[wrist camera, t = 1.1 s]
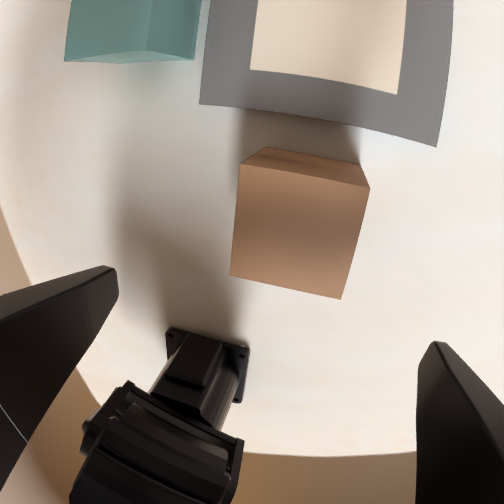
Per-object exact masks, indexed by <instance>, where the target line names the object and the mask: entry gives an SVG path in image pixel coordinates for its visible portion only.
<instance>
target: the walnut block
mask: <svg viewBox="0 0 504 504" xmlns="http://www.w3.org/2000/svg"><path fill="white" fill-rule="evenodd" d="M369 192H370V187H369V184H368V182H367V179H366V177H365V175H364V172H363V170H362V168H361V165H358V164H353V163H349V162H344V161H339V160H335V159H330V158H325V157H320V156H314V155H309V154H304V153H298V152H292V151H286V150H280V149H274V148H268V147H265V148H264V149H262V150H261V151H259V152H258V153H256V154H254V155H253V156H251V157H250V158H248V159H247V160H245V161H244V162H242V163H241V164H240V171H239V180H238V191H237V201H236V211H235V222H234V232H233V243H232V254H231V266H230V276H235V277H239V278H244V279H248V280H252V281H257V282H261V283H266V284H270V285H275V286H279V287H284V288H288V289H293V290H298V291H302V292H307V293H312V294H316V295H321V296H326V297H331V298H335V299H340V300H341V297H342V294H343V290H344V287H345V284H346V280H347V277H348V274H349V270H350V267H351V263H352V259H353V256H354V252H355V248H356V245H357V241H358V237H359V233H360V229H361V225H362V221H363V217H364V213H365V209H366V205H367V201H368V196H369Z"/></svg>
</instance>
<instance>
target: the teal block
mask: <svg viewBox="0 0 504 504" xmlns="http://www.w3.org/2000/svg"><path fill="white" fill-rule="evenodd" d="M201 1H202V0H72V4H71V10H70V16H69V23H68V30H67V38H66V46H65V57H64V62H105V63H130V62H145V61H167V60H194V55H195V46H196V38H197V30H198V22H199V15H200V8H201Z"/></svg>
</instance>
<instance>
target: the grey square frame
mask: <svg viewBox="0 0 504 504" xmlns="http://www.w3.org/2000/svg"><path fill="white" fill-rule="evenodd" d="M452 26H453V0H211V4H210V12H209V19H208V26H207V34H206V42H205V51H204V60H203V69H202V79H201V89H200V99H199V104H202V105H216V106H228V107H238V108H248V109H256V110H265V111H272V112H280V113H286V114H293V115H299V116H305V117H311V118H317V119H323V120H328V121H333V122H338V123H343V124H348V125H353V126H357V127H362V128H366V129H370V130H375V131H379V132H383V133H387V134H391V135H395V136H398V137H402V138H406V139H409V140H413V141H416V142H420V143H423V144H427V145H430V146H433V147H437V142H438V137H439V132H440V126H441V121H442V115H443V109H444V103H445V96H446V89H447V82H448V73H449V64H450V54H451V42H452Z"/></svg>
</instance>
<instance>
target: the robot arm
mask: <svg viewBox="0 0 504 504" xmlns="http://www.w3.org/2000/svg"><path fill="white" fill-rule="evenodd" d="M118 296H119V288H118V281H117V273H116V270H115V269H114V268H112V267H108V266H105V265H102V266H98V267H94V268H91V269H87V270H84V271H80V272H77V273H74V274H70V275H67V276H63V277H60V278H56V279H53V280H50V281H46V282H43V283H40V284H36V285H33V286H30V287H26V288H23V289H20V290H17V291H13V292H10V293H7V294H4V295H2V296H0V491H1V490H2V488H3V486H4V484H5V482H6V480H7V478H8V477H9V474H10V473H11V471H12V469H13V467H14V466H15V464H16V462H17V460H18V459H19V457H20V455H21V453H22V452H23V450H24V448H25V446H26V445H27V442H28V441H29V439H30V438H31V436H32V434H33V433H34V431H35V429H36V428H37V426H38V424H39V423H40V421H41V420H42V418H43V416H44V415H45V413H46V411H47V410H48V408H49V407H50V405H51V403H52V402H53V400H54V399H55V397H56V396H57V394H58V393H59V391H60V389H61V388H62V386H63V385H64V383H65V382H66V380H67V379H68V377H69V376H70V374H71V373H72V371H73V370H74V368H75V367H76V365H77V364H78V363H79V361H80V360H81V358H82V357H83V355H84V354H85V352H86V351H87V349H88V348H89V347H90V345H91V344H92V342H93V341H94V339H95V338H96V336H97V334H98V333H99V331H100V329H101V327H102V325H103V324H104V322H105V320H106V318H107V317H108V315H109V313H110V311H111V310H112V308H113V306H114V305H115V303H116V301H117V299H118ZM172 334H173V335H172ZM165 336H166V348H167V359H168V361H167V363H166V365H165V366H164V368H163V369H162V371H161V372H160V374H159V376H158V377H157V379H156V380H155V382H154V384H153V385H152V387H151V388H150V390H149V392H148V393H147V392H145V391H143V390H141V389H140V388H138V387H137V386H135V384H134V383H132V382H131V381H129V380H128V381H127V382H126V383H125V384H124V385H123V387H119V388H118V387H116V388H115V390H114V391H113V393H112V394H111V396H110V397H109V398H108V400H107V401H106V402H105V403H104V404H103V405H102V406H101V407H100V408H99V409H98V410H97V411H96V412H94V413H93V414H92V415H91V416H90V417H89V418H87V419H86V420H85V421H84V423H83V425H82V430H83V434H84V437H83V440H82V445H81V448H80V454H82V455H84V456H85V457H86V460H85V462H84V464H83V466H82V468H81V470H80V471H79V473H78V476H77V477H76V479H75V482H74V484H73V489H72V491H71V493H70V495H69V502H70V504H230V503H231V501H232V499H233V496H234V494H235V491H236V488H237V484H238V478H239V472H240V467H241V461H242V454H243V448H244V442H245V441H244V440H242V439H239V438H234V437H232V436H230V435H227V434H225V433H223V432H221V429H222V426H223V424H224V421H225V419H226V416H227V413H228V411H229V408H230V406H231V403H232V402H233V403H241V402H242V399H243V395H244V389H245V382H246V376H247V369H248V363H249V356H250V352H249V350H248V349H247V348H244V347H240V346H237V345H233V344H229V343H225V342H221V341H218V340H214V339H210V338H207V337H203V336H200V335H196V334H193V333H189V332H186V331H182V330H179V329H176V328H172V327H170V328H168V330H167V331H166V333H165ZM241 353H242V354H241ZM243 354H244V355H243ZM416 441H417V471H416V472H417V473H416V498H415V504H504V405H503V404H502V402H501V401H500V400H499V399H498V398H497V397H496V396H495V394H494V393H493V392H492V391H491V390H490V389H489V388H488V387H487V386H486V384H485V383H484V382H483V381H482V380H481V379H480V378H479V377H478V376H477V375H476V374H475V372H474V371H473V370H472V369H471V368H470V367H469V366H468V365H467V364H466V363H465V362H464V361H463V360H462V359H461V358H460V357H459V355H458V354H457V353H456V352H455V351H454V350H453V349H452V348H451V347H450V346H449V345H448V344H447V343H445V342H439V341H433V342H432V343H431V344H430V345H429V347H428V349H427V351H426V352H425V354H424V356H423V358H422V360H421V361H420V363H419V367H418V384H417V406H416Z"/></svg>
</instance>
